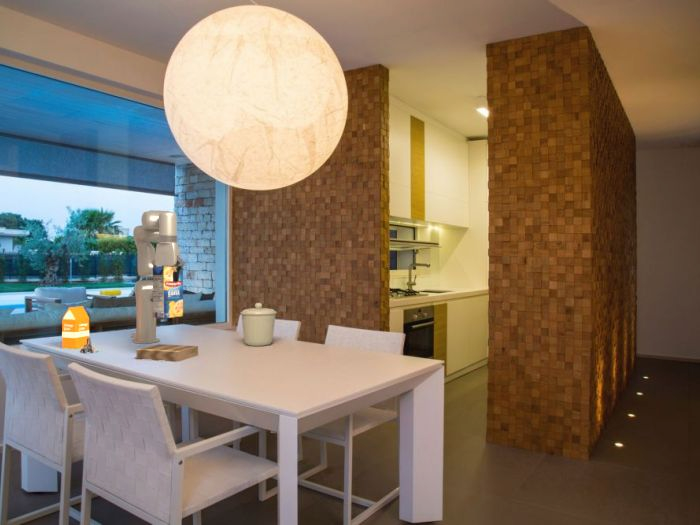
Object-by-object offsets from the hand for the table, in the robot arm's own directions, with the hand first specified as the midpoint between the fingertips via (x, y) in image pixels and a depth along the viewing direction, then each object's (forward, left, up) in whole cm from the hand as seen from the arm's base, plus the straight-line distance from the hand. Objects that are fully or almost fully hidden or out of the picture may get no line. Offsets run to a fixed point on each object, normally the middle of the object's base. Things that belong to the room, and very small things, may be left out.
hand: (167, 280), depth 238 cm
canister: (+23, +43, -34) cm, 59 cm away
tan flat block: (0, 0, -33) cm, 33 cm away
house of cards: (-41, -4, -34) cm, 53 cm away
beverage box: (0, 0, -16) cm, 16 cm away
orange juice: (-55, +7, -34) cm, 65 cm away
